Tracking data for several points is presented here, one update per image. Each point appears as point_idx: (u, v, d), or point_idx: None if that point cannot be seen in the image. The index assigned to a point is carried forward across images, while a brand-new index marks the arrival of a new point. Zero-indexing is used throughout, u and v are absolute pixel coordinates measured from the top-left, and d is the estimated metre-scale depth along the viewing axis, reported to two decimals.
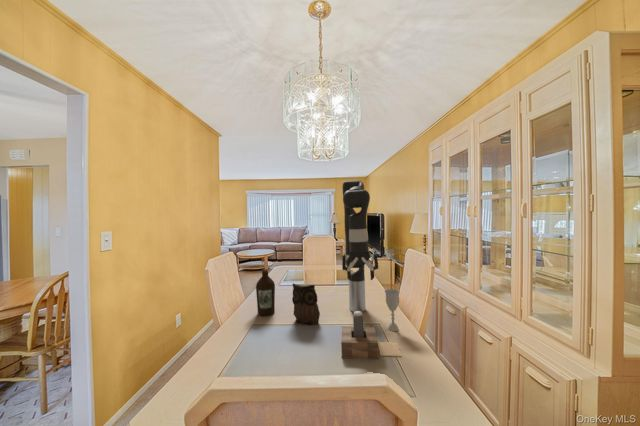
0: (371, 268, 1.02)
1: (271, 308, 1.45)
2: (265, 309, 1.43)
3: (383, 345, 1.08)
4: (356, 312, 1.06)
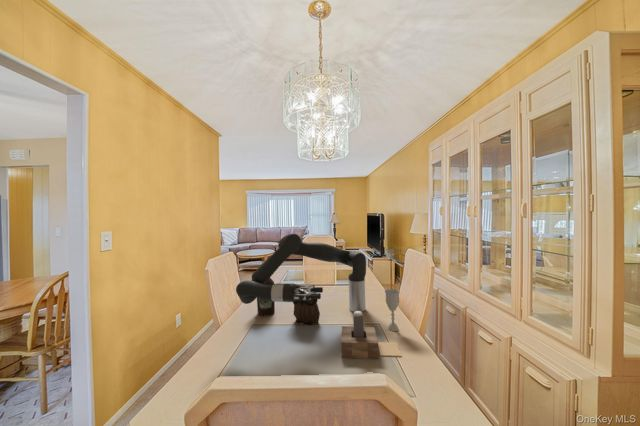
0: None
1: (271, 308, 1.45)
2: (265, 309, 1.43)
3: (383, 345, 1.08)
4: (356, 312, 1.06)
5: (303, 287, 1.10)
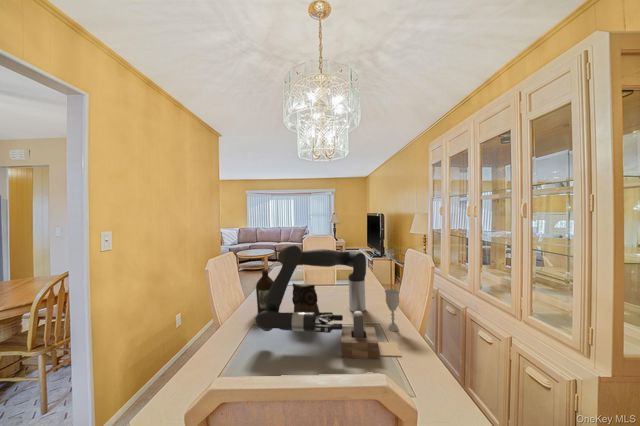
0: None
1: None
2: None
3: (383, 345, 1.08)
4: (356, 312, 1.06)
5: (323, 316, 1.09)
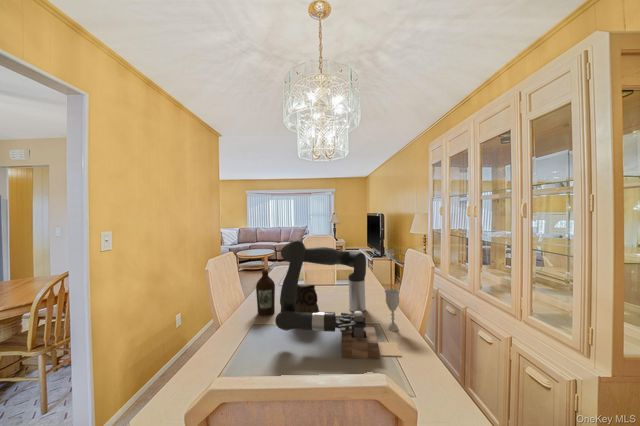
0: None
1: (271, 308, 1.45)
2: (265, 309, 1.43)
3: (383, 345, 1.08)
4: (356, 312, 1.07)
5: (343, 316, 1.08)
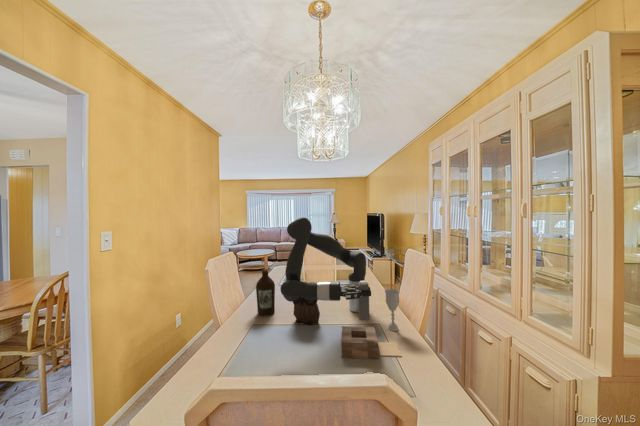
0: None
1: (271, 308, 1.45)
2: (265, 309, 1.43)
3: (383, 345, 1.08)
4: (361, 281, 1.06)
5: (348, 286, 1.08)
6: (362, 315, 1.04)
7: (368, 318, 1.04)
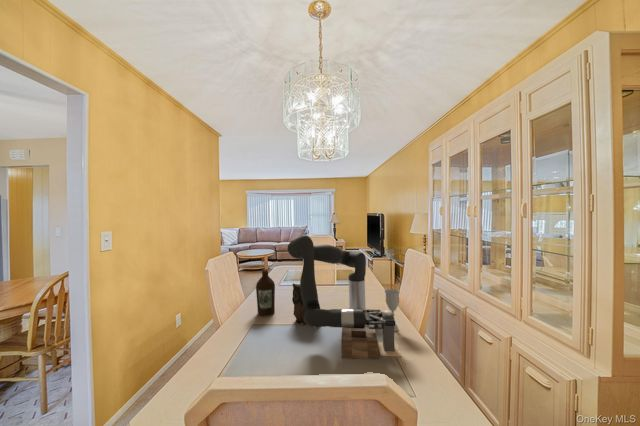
0: None
1: (271, 308, 1.45)
2: (265, 309, 1.43)
3: None
4: (386, 311, 1.05)
5: (372, 313, 1.07)
6: (387, 346, 1.03)
7: (393, 349, 1.03)
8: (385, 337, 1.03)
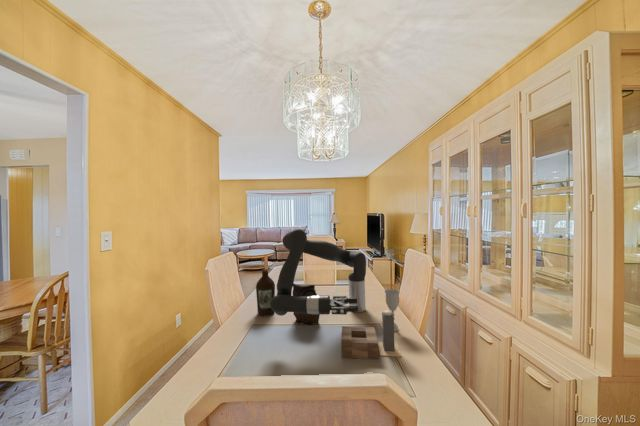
0: None
1: None
2: (265, 309, 1.43)
3: None
4: (386, 311, 1.05)
5: (338, 299, 1.09)
6: (387, 346, 1.03)
7: (393, 349, 1.03)
8: (385, 337, 1.03)
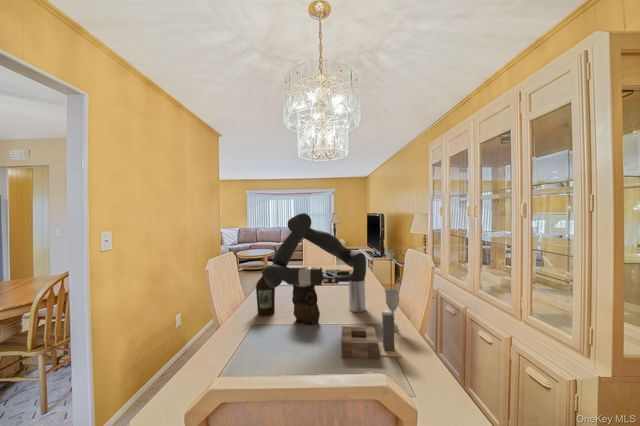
0: None
1: (271, 308, 1.45)
2: (265, 309, 1.43)
3: None
4: (386, 311, 1.05)
5: (330, 271, 1.09)
6: (387, 346, 1.03)
7: (393, 349, 1.03)
8: (385, 337, 1.03)
